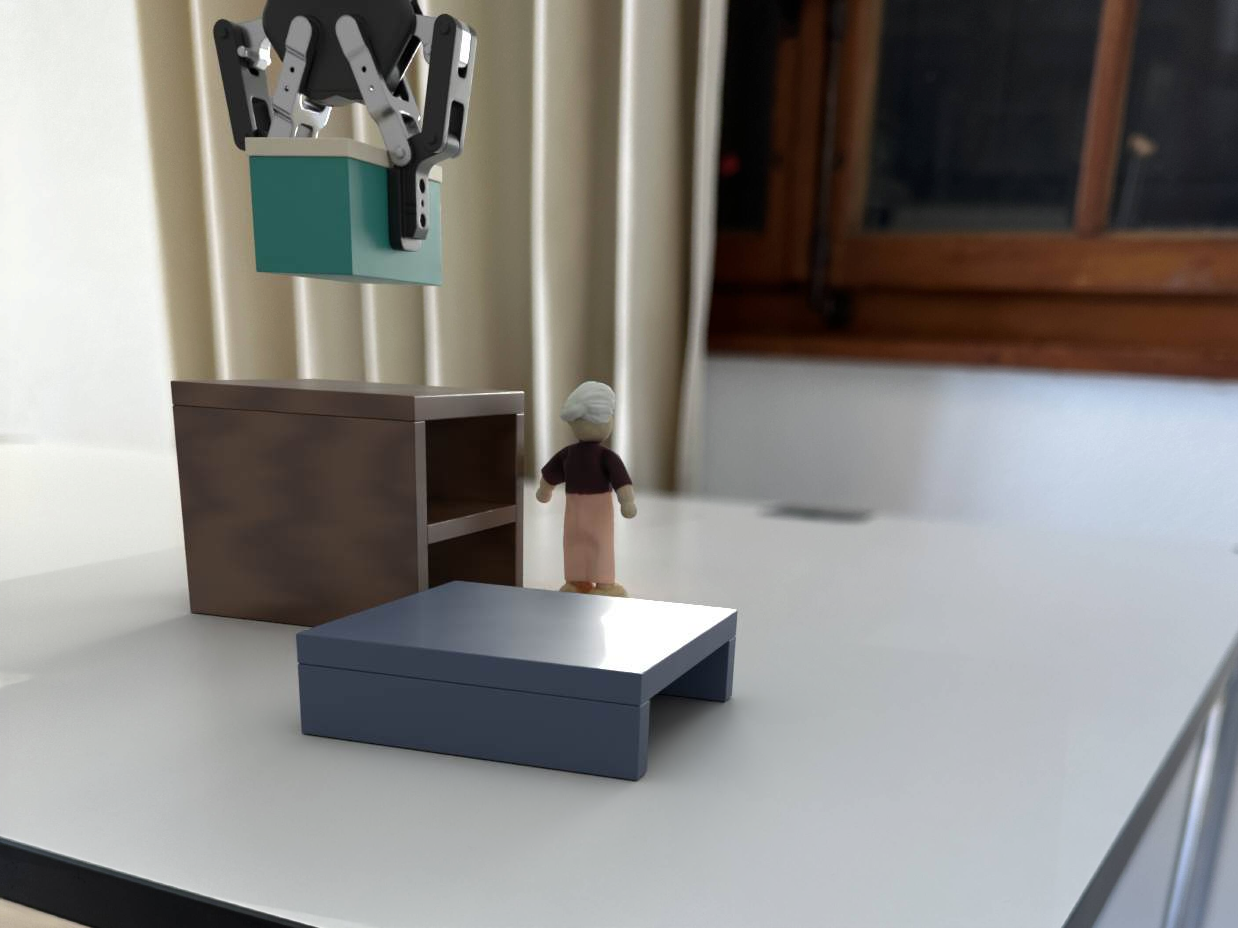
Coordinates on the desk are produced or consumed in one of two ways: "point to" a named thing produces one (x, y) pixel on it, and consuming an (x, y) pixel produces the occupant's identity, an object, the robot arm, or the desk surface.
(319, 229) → the box
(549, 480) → the grandmother figurine
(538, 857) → the desk surface
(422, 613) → the low shelf
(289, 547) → the high shelf
